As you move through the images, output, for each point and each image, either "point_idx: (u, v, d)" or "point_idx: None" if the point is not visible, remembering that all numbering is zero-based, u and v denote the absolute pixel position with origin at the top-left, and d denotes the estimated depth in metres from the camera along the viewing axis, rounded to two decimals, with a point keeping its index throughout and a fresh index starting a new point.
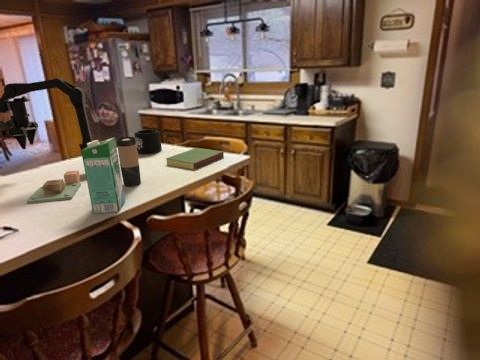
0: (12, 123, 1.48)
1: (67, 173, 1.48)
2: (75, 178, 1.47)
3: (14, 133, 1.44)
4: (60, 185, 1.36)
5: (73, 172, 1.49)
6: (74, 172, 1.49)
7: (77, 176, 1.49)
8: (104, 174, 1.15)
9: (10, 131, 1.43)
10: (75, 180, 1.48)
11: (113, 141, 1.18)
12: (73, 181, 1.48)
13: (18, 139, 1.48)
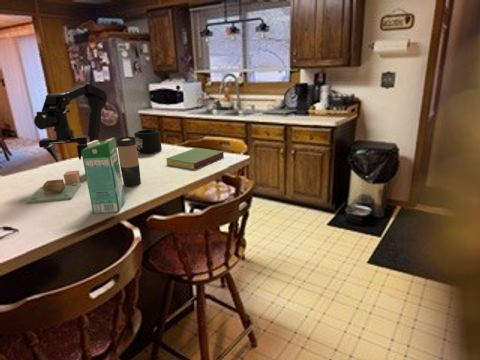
0: None
1: (67, 173, 1.48)
2: (75, 178, 1.47)
3: None
4: (60, 185, 1.36)
5: (73, 172, 1.49)
6: (74, 172, 1.49)
7: (77, 176, 1.49)
8: (104, 174, 1.15)
9: None
10: (75, 180, 1.48)
11: (113, 141, 1.18)
12: (73, 181, 1.48)
13: None
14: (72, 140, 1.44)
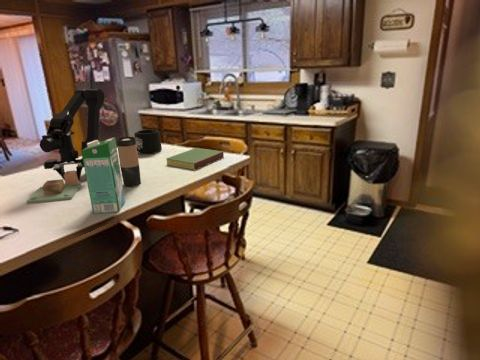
0: None
1: (67, 173, 1.48)
2: (75, 178, 1.47)
3: None
4: (60, 185, 1.36)
5: (73, 172, 1.49)
6: (74, 172, 1.49)
7: (77, 176, 1.49)
8: (104, 174, 1.15)
9: None
10: (75, 180, 1.48)
11: (113, 141, 1.18)
12: (73, 181, 1.48)
13: None
14: (76, 161, 1.47)
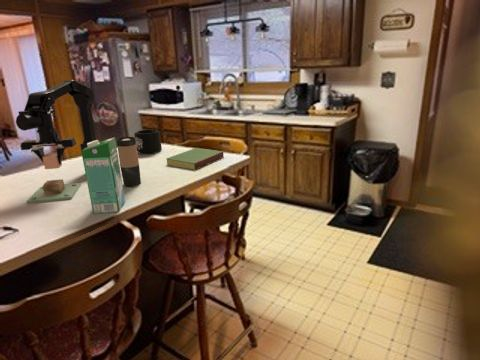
0: None
1: (47, 155, 1.35)
2: (55, 161, 1.34)
3: None
4: (60, 185, 1.36)
5: (53, 154, 1.36)
6: (54, 154, 1.36)
7: None
8: (104, 174, 1.15)
9: None
10: (55, 163, 1.35)
11: (113, 141, 1.18)
12: (53, 164, 1.35)
13: None
14: (57, 143, 1.34)
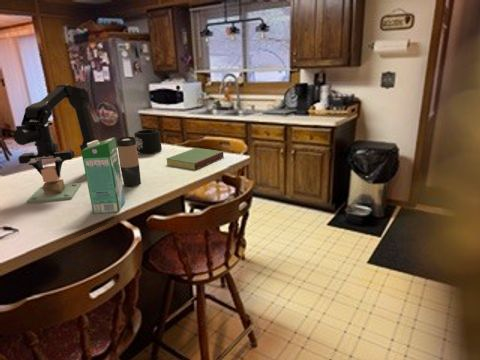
0: None
1: (45, 168, 1.34)
2: (54, 173, 1.33)
3: None
4: (60, 185, 1.36)
5: (52, 167, 1.35)
6: (53, 167, 1.35)
7: (56, 171, 1.35)
8: (104, 174, 1.15)
9: None
10: (54, 176, 1.34)
11: (113, 141, 1.18)
12: (52, 177, 1.34)
13: None
14: (55, 155, 1.33)
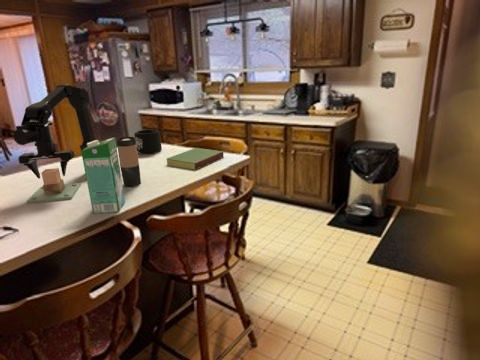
0: None
1: (45, 171, 1.34)
2: (54, 176, 1.34)
3: None
4: (60, 185, 1.36)
5: (52, 170, 1.35)
6: (53, 170, 1.35)
7: (57, 174, 1.35)
8: (104, 174, 1.15)
9: None
10: (54, 179, 1.34)
11: (113, 141, 1.18)
12: (52, 180, 1.34)
13: None
14: (55, 155, 1.33)
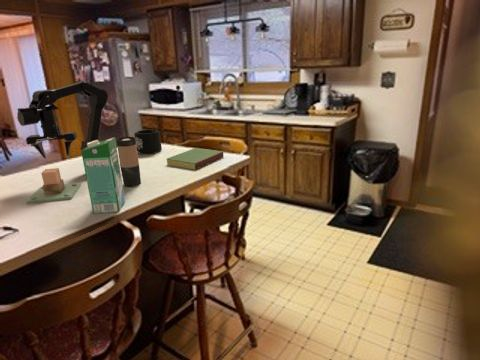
0: None
1: (45, 171, 1.34)
2: (54, 176, 1.34)
3: None
4: (60, 185, 1.36)
5: (52, 170, 1.35)
6: (53, 170, 1.35)
7: (57, 174, 1.35)
8: (104, 174, 1.15)
9: None
10: (54, 179, 1.34)
11: (113, 141, 1.18)
12: (52, 180, 1.34)
13: None
14: (59, 136, 1.45)
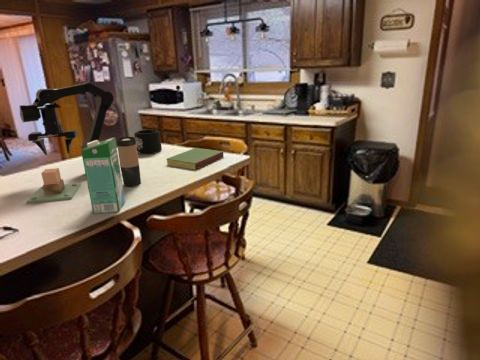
0: None
1: (45, 171, 1.34)
2: (54, 176, 1.34)
3: None
4: (60, 185, 1.36)
5: (52, 170, 1.35)
6: (53, 170, 1.35)
7: (57, 174, 1.35)
8: (104, 174, 1.15)
9: None
10: (54, 179, 1.34)
11: (113, 141, 1.18)
12: (52, 180, 1.34)
13: None
14: (61, 134, 1.49)
